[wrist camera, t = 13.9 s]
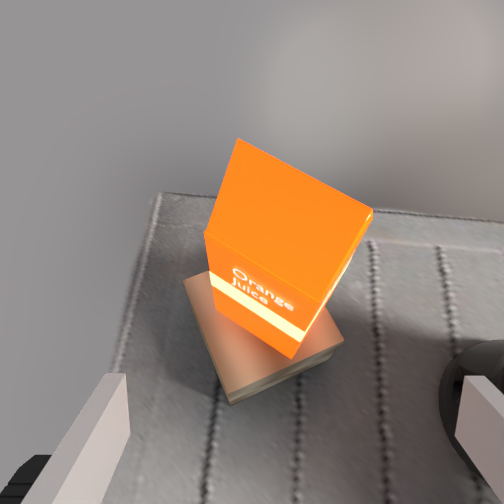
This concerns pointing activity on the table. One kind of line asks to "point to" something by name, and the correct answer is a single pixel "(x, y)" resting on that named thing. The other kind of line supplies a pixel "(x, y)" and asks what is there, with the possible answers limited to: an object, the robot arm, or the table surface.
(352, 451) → the table surface
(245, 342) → the birch block
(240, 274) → the orange juice
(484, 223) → the table surface
